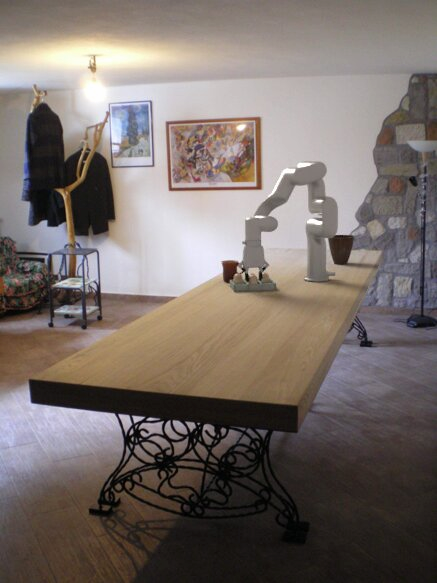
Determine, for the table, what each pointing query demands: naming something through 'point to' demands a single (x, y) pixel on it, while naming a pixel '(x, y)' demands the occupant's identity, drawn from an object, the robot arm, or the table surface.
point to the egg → (253, 279)
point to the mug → (230, 269)
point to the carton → (243, 285)
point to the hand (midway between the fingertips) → (253, 280)
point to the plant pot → (341, 248)
